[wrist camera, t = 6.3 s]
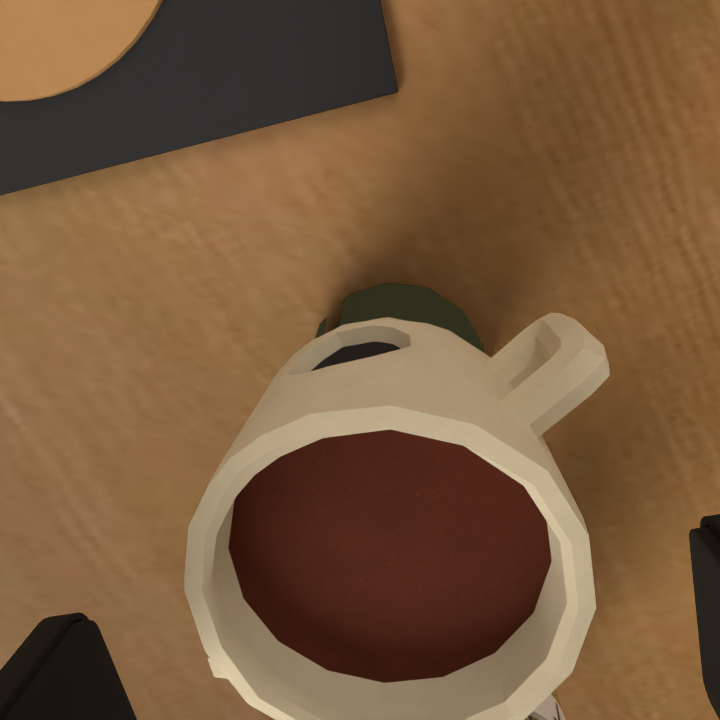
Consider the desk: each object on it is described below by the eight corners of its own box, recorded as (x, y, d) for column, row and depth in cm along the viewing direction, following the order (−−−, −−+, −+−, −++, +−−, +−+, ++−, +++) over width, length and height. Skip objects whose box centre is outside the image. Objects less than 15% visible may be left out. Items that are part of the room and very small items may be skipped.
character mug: (440, 184, 21) (489, 211, 9) (577, 332, 22) (796, 547, 10) (227, 393, 24) (32, 643, 11) (359, 516, 25) (312, 862, 12)
